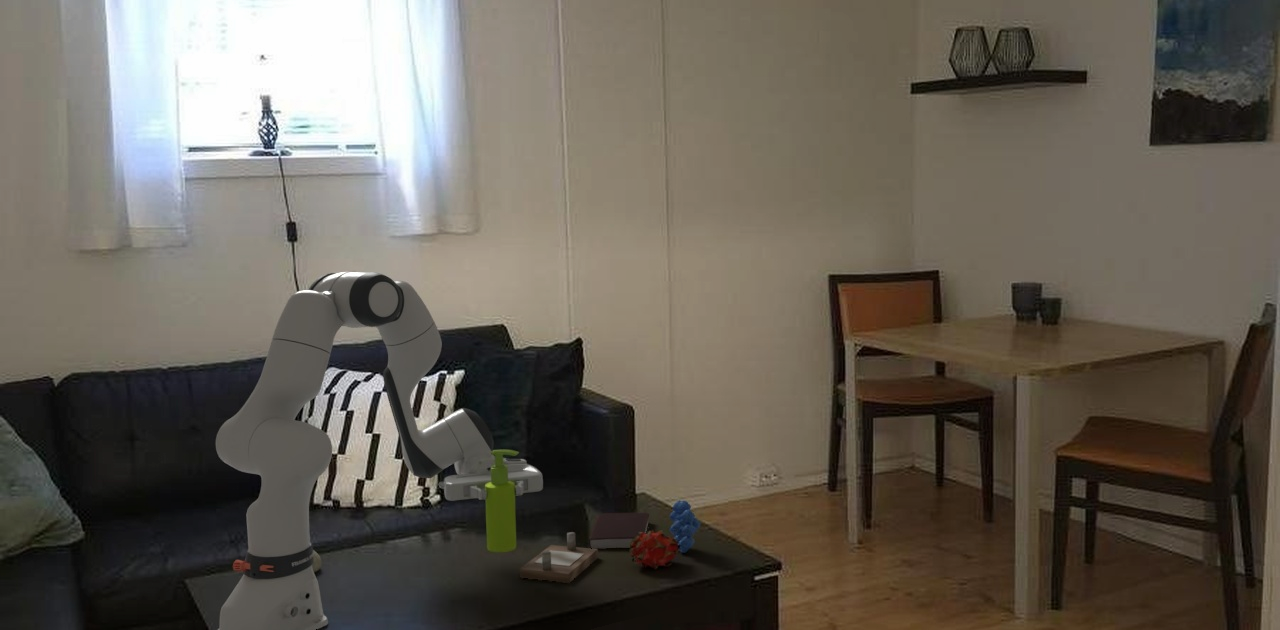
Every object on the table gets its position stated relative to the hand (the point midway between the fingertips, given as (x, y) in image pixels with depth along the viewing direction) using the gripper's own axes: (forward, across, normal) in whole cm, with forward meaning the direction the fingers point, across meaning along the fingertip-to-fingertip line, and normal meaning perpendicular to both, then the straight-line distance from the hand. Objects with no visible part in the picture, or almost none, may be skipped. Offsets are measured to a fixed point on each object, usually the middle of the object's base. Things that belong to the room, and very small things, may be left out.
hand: (501, 493), depth 224 cm
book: (-24, +33, +20) cm, 45 cm away
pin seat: (-8, +14, +20) cm, 25 cm away
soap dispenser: (-1, 0, +12) cm, 12 cm away
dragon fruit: (-1, +33, +20) cm, 39 cm away
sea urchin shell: (-29, -38, +21) cm, 52 cm away
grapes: (-6, +42, +20) cm, 47 cm away
